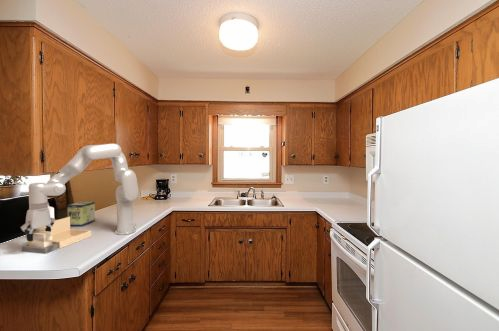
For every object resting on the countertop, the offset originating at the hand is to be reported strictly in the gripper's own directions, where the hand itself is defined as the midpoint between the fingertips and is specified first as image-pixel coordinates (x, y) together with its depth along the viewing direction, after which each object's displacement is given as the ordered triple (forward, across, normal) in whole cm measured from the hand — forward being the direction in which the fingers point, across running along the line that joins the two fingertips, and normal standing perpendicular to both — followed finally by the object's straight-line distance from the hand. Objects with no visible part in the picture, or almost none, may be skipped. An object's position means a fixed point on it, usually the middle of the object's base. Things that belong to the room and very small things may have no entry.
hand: (39, 238), depth 136 cm
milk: (+7, -17, -16) cm, 24 cm away
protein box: (+7, -51, -24) cm, 57 cm away
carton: (+7, -15, 0) cm, 17 cm away
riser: (+7, 0, 0) cm, 7 cm away
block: (+4, 0, 0) cm, 4 cm away
